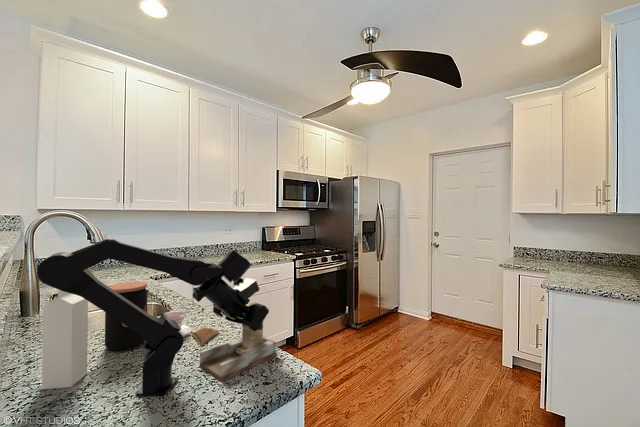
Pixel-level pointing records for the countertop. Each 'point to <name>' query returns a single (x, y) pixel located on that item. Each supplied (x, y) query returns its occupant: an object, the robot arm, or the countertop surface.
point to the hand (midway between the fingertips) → (257, 326)
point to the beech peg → (250, 338)
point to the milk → (64, 341)
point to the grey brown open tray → (235, 358)
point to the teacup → (179, 321)
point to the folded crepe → (204, 335)
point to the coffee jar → (116, 331)
